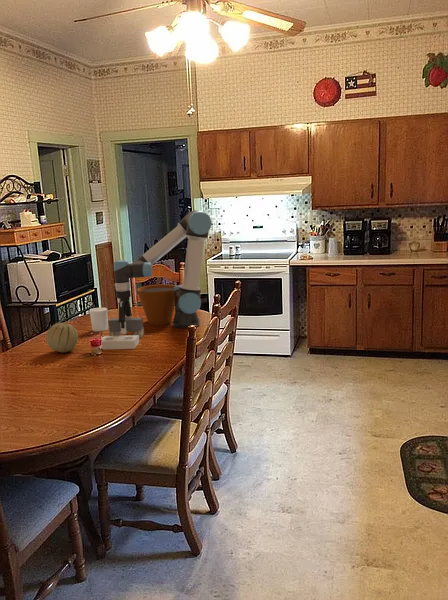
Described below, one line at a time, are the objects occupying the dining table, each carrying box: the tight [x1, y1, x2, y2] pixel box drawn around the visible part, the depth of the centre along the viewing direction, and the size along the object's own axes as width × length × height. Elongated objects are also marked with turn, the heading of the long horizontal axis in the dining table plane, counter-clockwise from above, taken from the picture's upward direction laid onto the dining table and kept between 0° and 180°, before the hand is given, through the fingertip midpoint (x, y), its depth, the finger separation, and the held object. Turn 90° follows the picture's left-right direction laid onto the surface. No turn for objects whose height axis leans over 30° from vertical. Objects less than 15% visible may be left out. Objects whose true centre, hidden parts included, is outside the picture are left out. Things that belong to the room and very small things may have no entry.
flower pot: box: [136, 283, 177, 326], centre depth 310 cm, size 24×24×20 cm
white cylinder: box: [89, 307, 109, 332], centre depth 297 cm, size 10×10×12 cm
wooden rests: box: [108, 327, 145, 339], centre depth 281 cm, size 17×6×4 cm, turn 87°
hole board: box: [101, 334, 140, 350], centre depth 266 cm, size 18×10×4 cm, turn 87°
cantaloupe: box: [46, 320, 79, 353], centre depth 259 cm, size 15×15×15 cm
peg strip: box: [108, 316, 144, 336], centre depth 280 cm, size 17×5×10 cm, turn 87°
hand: (126, 331), depth 281 cm, fingers open, 10 cm apart
